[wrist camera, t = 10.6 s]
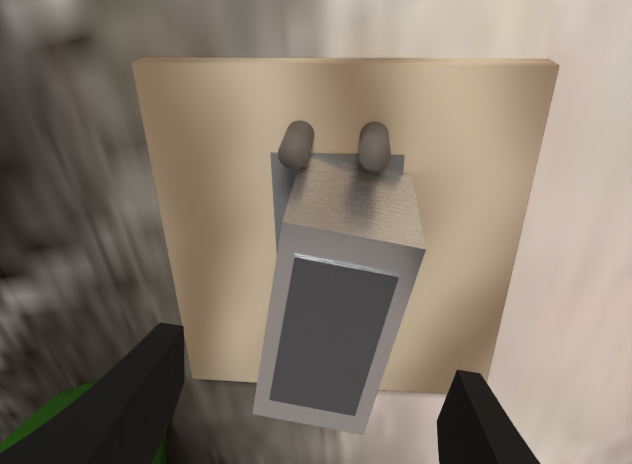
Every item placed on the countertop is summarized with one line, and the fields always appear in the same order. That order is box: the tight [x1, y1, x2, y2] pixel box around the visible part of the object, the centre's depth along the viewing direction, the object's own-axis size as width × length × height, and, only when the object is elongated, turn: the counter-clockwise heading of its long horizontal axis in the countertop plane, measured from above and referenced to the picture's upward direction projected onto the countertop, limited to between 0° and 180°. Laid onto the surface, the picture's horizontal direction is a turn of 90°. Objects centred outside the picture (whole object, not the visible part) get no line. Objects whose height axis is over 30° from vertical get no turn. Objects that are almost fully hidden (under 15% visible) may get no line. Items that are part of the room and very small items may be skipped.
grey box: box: [253, 156, 426, 435], centre depth 18 cm, size 4×8×5 cm, turn 170°
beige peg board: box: [131, 57, 559, 394], centre depth 19 cm, size 14×15×3 cm
